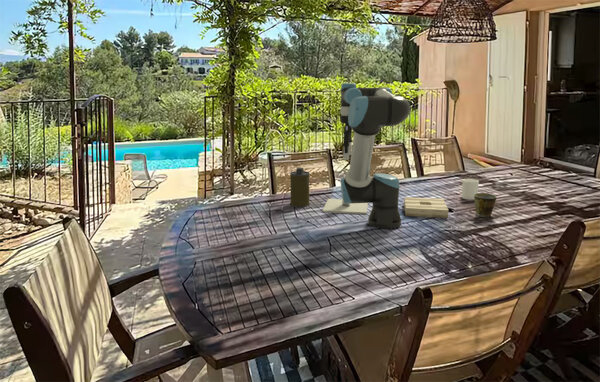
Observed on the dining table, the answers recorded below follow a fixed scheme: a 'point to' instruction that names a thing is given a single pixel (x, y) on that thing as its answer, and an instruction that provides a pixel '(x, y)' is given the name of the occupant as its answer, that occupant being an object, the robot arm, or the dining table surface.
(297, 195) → the canister
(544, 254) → the dining table surface
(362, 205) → the pad
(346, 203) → the white peg
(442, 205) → the block
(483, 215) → the ceramic cup
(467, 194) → the cup
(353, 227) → the dining table surface
